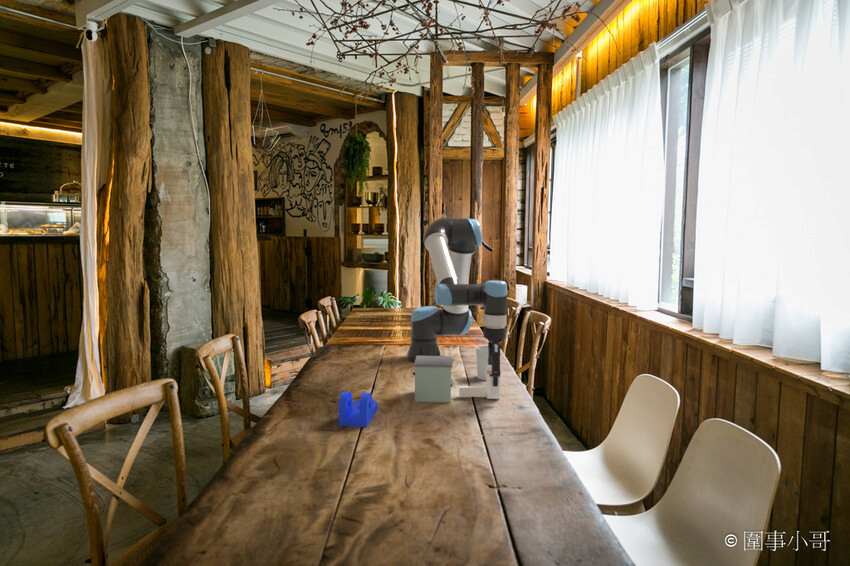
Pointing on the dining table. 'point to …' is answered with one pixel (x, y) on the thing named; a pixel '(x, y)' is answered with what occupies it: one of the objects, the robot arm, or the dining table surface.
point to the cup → (482, 361)
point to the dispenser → (433, 378)
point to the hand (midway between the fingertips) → (493, 389)
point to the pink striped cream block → (480, 388)
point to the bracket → (356, 410)
